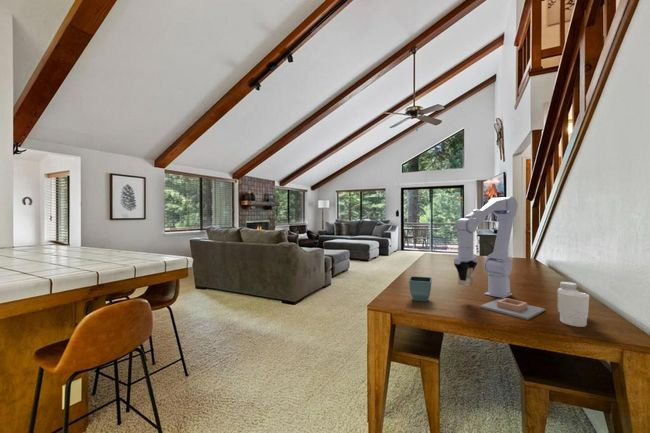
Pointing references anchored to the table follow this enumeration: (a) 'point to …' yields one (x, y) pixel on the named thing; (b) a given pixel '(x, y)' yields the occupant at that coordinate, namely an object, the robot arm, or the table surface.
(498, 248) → the robot arm
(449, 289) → the table surface
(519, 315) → the holder
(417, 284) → the flower pot
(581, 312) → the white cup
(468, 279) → the peg
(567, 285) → the pill bottle
